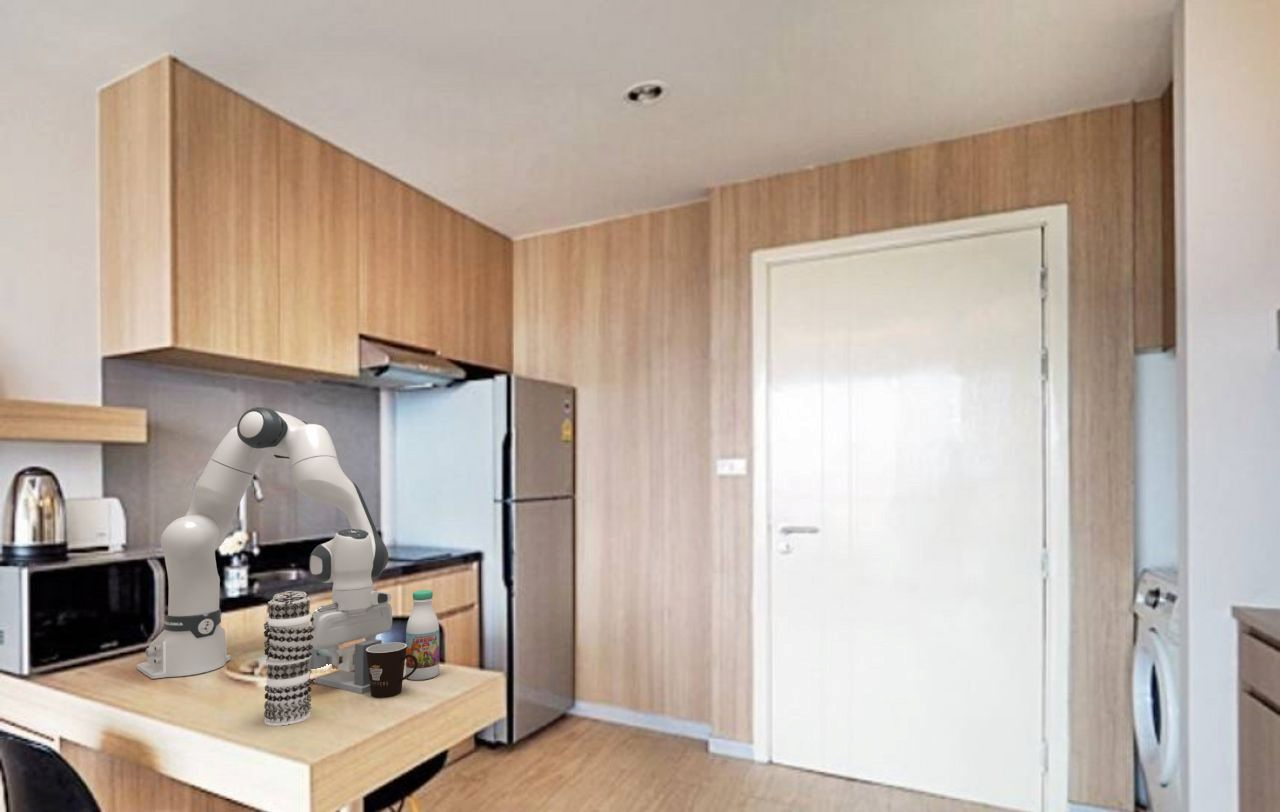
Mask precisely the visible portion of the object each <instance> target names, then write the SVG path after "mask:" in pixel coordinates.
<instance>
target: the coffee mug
mask: <svg viewBox="0 0 1280 812" xmlns="http://www.w3.org/2000/svg"><path fill="white" fill-rule="evenodd" d="M406 649H407V645H406V643H404V642H398V641H397V642H396V641H394V642H392V641H391V642H382V644H376V645H373V646H370V647H368V648H367V649H366V655H367V664H368V673H369V682H370V691H369V692H370V696H371V697H372V698H375V699H387V698H393V697H395V696H399V695H400V694H401V693H402V690H403V681H405V680H406V679H408V677H409V676H410V675H412V674H413V673H414V672H415V670H416V669H417V666H418V662H417V659H416V657H415V656H413V655H410V654H409V655H406ZM407 657H410V658H412V659H413V660H414V662H415V667H414V669H413V670H412V672H410V673H409V674H408V675H406V674H405V676H404V673H405V667H406V658H407Z"/></svg>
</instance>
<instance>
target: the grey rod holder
mask: <svg viewBox="0 0 1280 812" xmlns="http://www.w3.org/2000/svg"><path fill="white" fill-rule="evenodd" d="M382 643H383V640H382V639H371V640H365V641H364V640H363V641H360V642H356V643H354V644H355V654H353V662H354V663H355V670H354V671H344V670H340V671H338V672H335V673H332V674H329V675H326V676H322V677H319V678H316V679H315V680H313V682H314V684H319V685H322V686H323V685H324V686H327V687H332V688H336V689H340V690H344V691H349V692H353V693H357V694H361V695H362V694H363V695H364V694H366V693H369V692H371V691H370V682H369V673H368V664H367V655H366V649H367V648H368V647H370V646H373V645H376V644H382ZM336 651H337V653H338V650H336ZM309 652H310V653H311V654H312V657H311V658H310V659H309V667H308V668H309V670H310V669H317V668H321V667H324V666H326V664H328V665H329V664H332V656H331V655H330V653H329V652H328V648H326V649H322V650H318V649H313V648H312V649H311V650H309ZM313 682H312V683H313Z"/></svg>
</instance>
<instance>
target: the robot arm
mask: <svg viewBox="0 0 1280 812" xmlns="http://www.w3.org/2000/svg"><path fill="white" fill-rule="evenodd" d="M332 440H333V439H332V437H331V435H330V434H329V431H328V430H327V429H326V428H325V426H323V425H320V424H316V423H308V422H306V421H303V420H301V419H300V418H299V419H298V418H297V417H296V416H293V415H290V414H288V413H283V412H281V411H280V412H279V411H276V410H274V409H273V408H269V407H259V406H258V407H256V406H255V407H252V408H250V409H247V410H246V411H245V412H244V413H243V414H242V415H241V416H240V418H239V420H238V421H237V426H234V427H232V428H231V429H230V430H229V431H228V433H226V434H225V436H224V437H223V439H222V440H221V441H220V442H219V444H218V445H217V447H216V449H214V452H213V453H212V455H211V457H210V459H209V461H208V463H207V464H206V466H205V467H204V470H203V472H202V474H201V475H200V478H199V480H198V481H197V482H196V485H195V487H194V493H193V497H192V499H191V502H190V505H189V508H188V510H187V512H186V514H185V515H184V516H182V517H179V518H176V519H174V520H173V521H171V522H170V524H168V525H167V527H166V528H165V529H164V530H163V532H162V534H161V536H160V546H161V549H162V550H163V554H164V562H165V567H166V572H167V581H168V602H167V603H168V606H167V607H168V609H167V614H166V615H164V616H163V618H164V619H163V627H162V628H163V630H162V631H161V633H159V634H158V636H157V637H155V639H154V640H152V641H151V643H150V644H149V646H148V647H147V648H146V649H145V657H146V658H147V660H144V661H143V662H140V663H138V664H136V669H137V670H138V671H139V672H141V673H142V674H144V675H145V676H147V677H148V678H150V679H161V678H162V679H163V678H170V677H171V678H172V677H176V678H177V677H185V676H192V675H198V674H203V673H207V672H212V671H214V670H216V669H217V670H218V669H219V668H222V667H224V666H225V665H226V663H227V662H229V661H230V660H232V657H231V654H227V644H226V630H225V628H223V627H222V626H221V625H220V624H221V622H222V611H221V610H222V609H221V608H220V591H221V590H220V589H221V588H220V586H221V585H220V582H221V579H220V575H219V573H218V568H217V561H216V550H217V549H219V548H220V547H221V546H222V545H223V544H224V542H225V540H226V538H227V535H228V534H229V532H230V529H231V526H232V524H233V522H234V519H235V516H236V514H237V511H238V510H239V509H238V508H239V506H240V503H241V501H242V500H243V497H244V495H245V493H246V492H247V489H248V488H249V486H250V484H251V482H252V480H253V478H254V476H255V474H256V472H257V470H258V467H260V465H261V463H262V461H263V460H264V459H265V458H266V457H268V456H272V455H273V456H274V457H275V458H277V459H289V463H290V467H291V468H290V469H291V474H292V478H293V482H294V485H295V488H296V489H297V491H298V492H299V493H301V495H303V496H305V497H306V498H308V499H310V500H313V501H316V502H319V503H323V504H324V503H325V504H326V505H327V504H328V505H329V506H330V505H331V506H333V507H336V508H338V509H339V510H341V511H342V512H343V513H344V514H345V516H346V518H347V520H348V523H349V526H350V528H348V529H347V528H346V529H341V530H338V531H337V532H336V533H335V535H334V536H333V537H334V538H332V539H330V540H329V541H326V542H324V543H320V544H318V545H317V546H316V547H314V549H313V550H312V552H311V553H310V554H309V560H308V568H309V574H310V576H311V577H312V578H313V579H314V580H316V581H317V582H318V583H323V584H324V583H325V584H328V583H330V584H331V583H332V584H333V585H332V589H331V590H332V593H331V594H332V595H331V596H332V597H331V598H332V600H331V601H332V602H331V603H330V604H327V605H320V606H319V607H317V608H316V609H315V610H314V611H313V613H311V618H312V617H313V618H314V620H313V621H312V622H311V623H310V626H311V627H312V628H314V630H313V631H312V632H311V633H309V635H310V634H311V635H312V636H313V639H311V640H309V644H310V645H312V646H313V649H318V650H322V649H326V648H328V652H329V653H330V655H331V656H332V664H333V666H338V665H339V664H342V662H343V661H342V659H343V656H340V655H338V653H337V651H338V649H339V646H340V645H344V644H348V643H351V642H354V641H355V642H356V641H359V640H362V639H364V640H365V641H367V640H371V639H376V636H377V635H381V634H385V633H387V632H388V633H389V632H390V630H391V629H392V626H393V610H392V606H391V604H390V602H391V599H392V596H391V593H390V592H385V591H381V590H380V591H378V590H376V589H374V586H373V585H374V584H373V579H376V578H378V577H379V576H380V575H381V574H382V573H383V571H384V570H385V569H386V567H387V565H388V563H389V550H388V548H387V545H385V543H384V541H383V539H382V538H381V537H380V535H379V533H378V531H377V528H376V526H375V523H374V520H373V518H372V516H371V513H370V511H369V508H368V505H367V504H366V501H365V499H364V497H363V495H362V492H361V490H360V488H359V487H358V485H357V484H356V483H355V482H353V481H352V480H350V479H349V477H347V475H346V474H345V473H344V471H343V469H342V468H341V466H340V463H339V458H338V455H337V451H336V448H335V444H334V443H333V442H334V441H332Z"/></svg>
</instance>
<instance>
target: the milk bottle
mask: <svg viewBox="0 0 1280 812" xmlns="http://www.w3.org/2000/svg"><path fill="white" fill-rule="evenodd" d="M433 594H434V593H433V591H432V590H430V589H421V590H416V591H413V593H412V602H413V606H412V610H411V613H410V615H409V618H408V620H407V623H406V631H405V644H406V645H407V649H406V655H409V654H410V655H413V656H415V657H416V659H417V662H418V666H417V669H416V670H415V672H414V673H413V674H412V675H410V676H409V677H408V678H407V679H408V680H411V681H424V680H429V679H432V678H435V677H437V676H438V675H439V673H440V625H439V620H438V617H437V615H436V613H435V611H434V610H435V609H434V608H433V603H432V602H433ZM414 667H415V662H414V660H413V659H412V658H410V657H407V658H406V659H405V676H406V675H408V674H409V673H410V672H412V670H413V669H414Z"/></svg>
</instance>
